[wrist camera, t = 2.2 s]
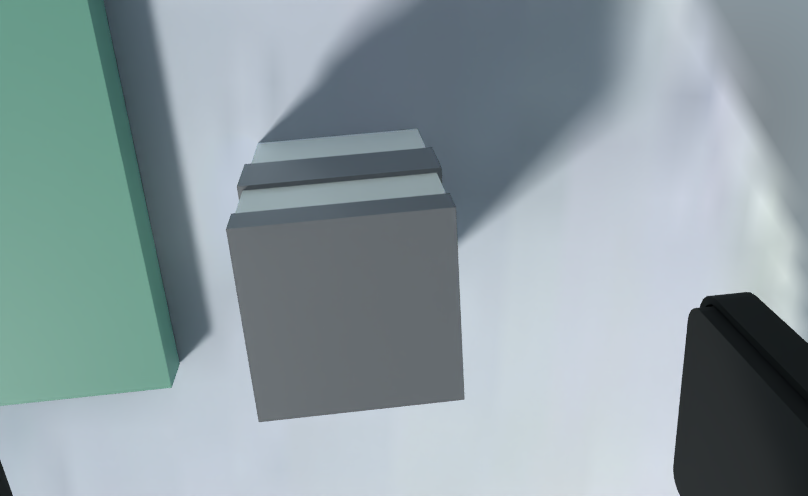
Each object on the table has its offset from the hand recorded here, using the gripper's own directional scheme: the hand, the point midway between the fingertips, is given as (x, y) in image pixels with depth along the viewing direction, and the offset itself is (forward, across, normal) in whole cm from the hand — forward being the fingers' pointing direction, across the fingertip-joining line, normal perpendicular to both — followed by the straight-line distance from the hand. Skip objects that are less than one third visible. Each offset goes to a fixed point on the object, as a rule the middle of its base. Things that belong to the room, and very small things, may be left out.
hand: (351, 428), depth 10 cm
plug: (+10, 0, +1) cm, 11 cm away
